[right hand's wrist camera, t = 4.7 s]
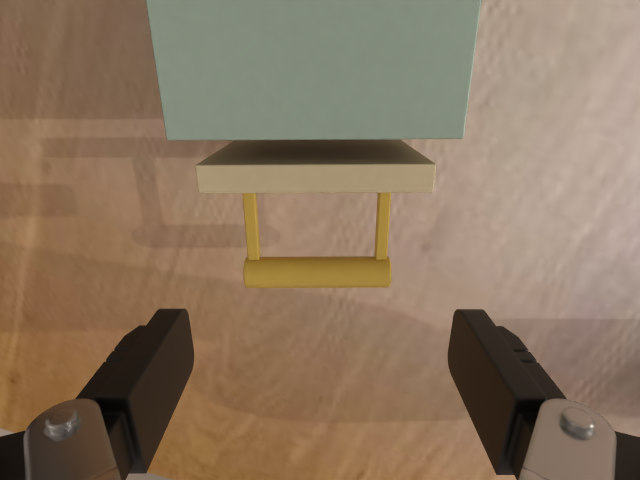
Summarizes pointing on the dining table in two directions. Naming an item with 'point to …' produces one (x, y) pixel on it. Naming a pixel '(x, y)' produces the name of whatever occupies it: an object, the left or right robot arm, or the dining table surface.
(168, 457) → the dining table surface
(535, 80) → the dining table surface
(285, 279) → the drawer
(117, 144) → the dining table surface
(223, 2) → the cabinet
